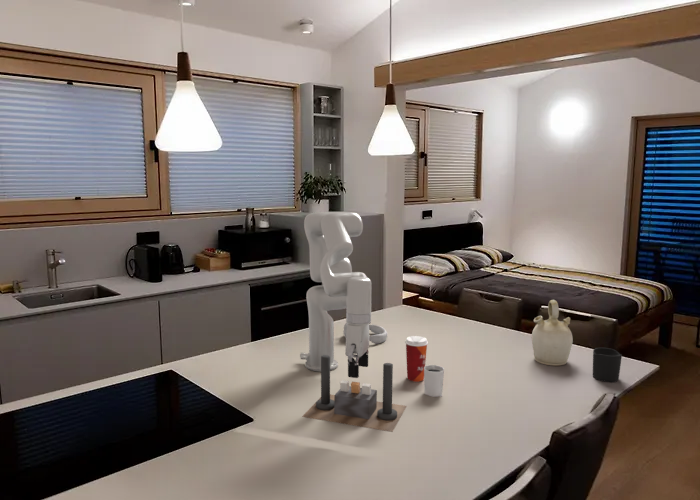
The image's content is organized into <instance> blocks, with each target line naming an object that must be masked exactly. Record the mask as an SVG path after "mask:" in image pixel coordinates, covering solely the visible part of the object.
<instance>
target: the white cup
mask: <svg viewBox="0 0 700 500" xmlns="http://www.w3.org/2000/svg"><path fill="white" fill-rule="evenodd" d="M444 374H445V368H444V367H443V366H441V365H438V364H427V365H425V367H424V380H423V381H424V382H423V384H424V387H423V388H424V395H426V396H429V397H433V398H434V397H443V390H444V389H443V388H444V387H443V386H444V376H445V375H444Z"/></svg>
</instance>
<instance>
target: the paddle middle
mask: <svg viewBox="0 0 700 500" xmlns="http://www.w3.org/2000/svg"><path fill="white" fill-rule="evenodd" d="M360 384H361V383H360V382H358V381H351V383H350V386H351V392H352V393H358V394H359V392H360V388H361V385H360Z"/></svg>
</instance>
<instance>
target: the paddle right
mask: <svg viewBox="0 0 700 500" xmlns="http://www.w3.org/2000/svg"><path fill="white" fill-rule="evenodd" d="M361 388H362V394H365V395H370V394H371V389H372V384H371V383H366V382H363V383H362V384H361Z"/></svg>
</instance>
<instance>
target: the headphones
mask: <svg viewBox="0 0 700 500" xmlns="http://www.w3.org/2000/svg"><path fill="white" fill-rule="evenodd" d="M347 326H348V323H347V322H346V321H345V324H344V325H343V331H342V332H343V336H344V338H346V333H347ZM369 331H370V332H372V333H373V334H372V335H369V342H371V343H372V344H382V343H384V342H385V341H386V339H387V338H388V332H387V330H386V328H384V327H383V326H381V325H378V324H373V323H372V324H369Z"/></svg>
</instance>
